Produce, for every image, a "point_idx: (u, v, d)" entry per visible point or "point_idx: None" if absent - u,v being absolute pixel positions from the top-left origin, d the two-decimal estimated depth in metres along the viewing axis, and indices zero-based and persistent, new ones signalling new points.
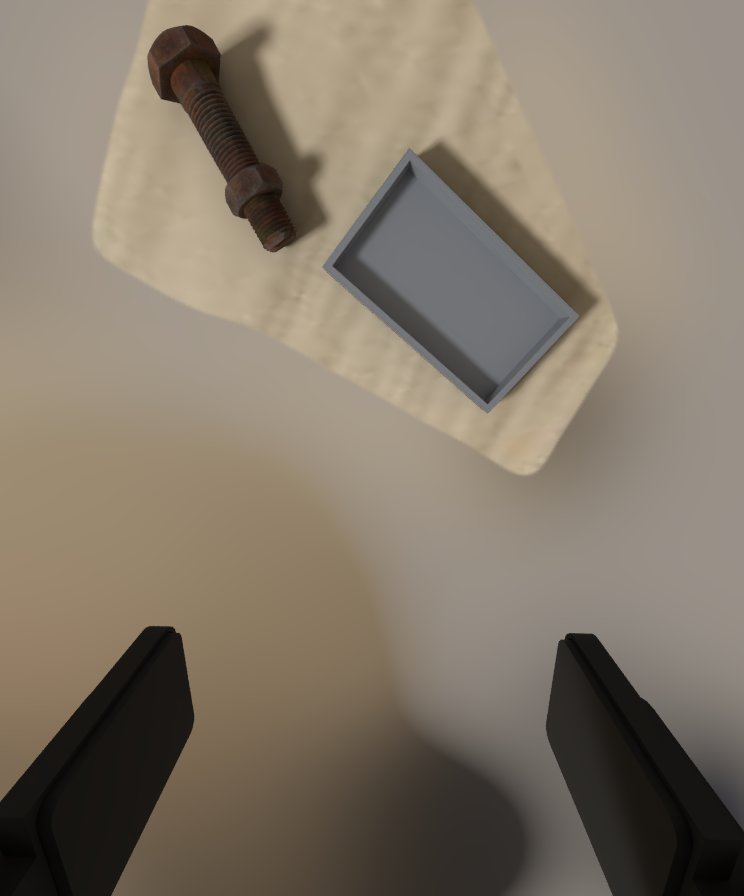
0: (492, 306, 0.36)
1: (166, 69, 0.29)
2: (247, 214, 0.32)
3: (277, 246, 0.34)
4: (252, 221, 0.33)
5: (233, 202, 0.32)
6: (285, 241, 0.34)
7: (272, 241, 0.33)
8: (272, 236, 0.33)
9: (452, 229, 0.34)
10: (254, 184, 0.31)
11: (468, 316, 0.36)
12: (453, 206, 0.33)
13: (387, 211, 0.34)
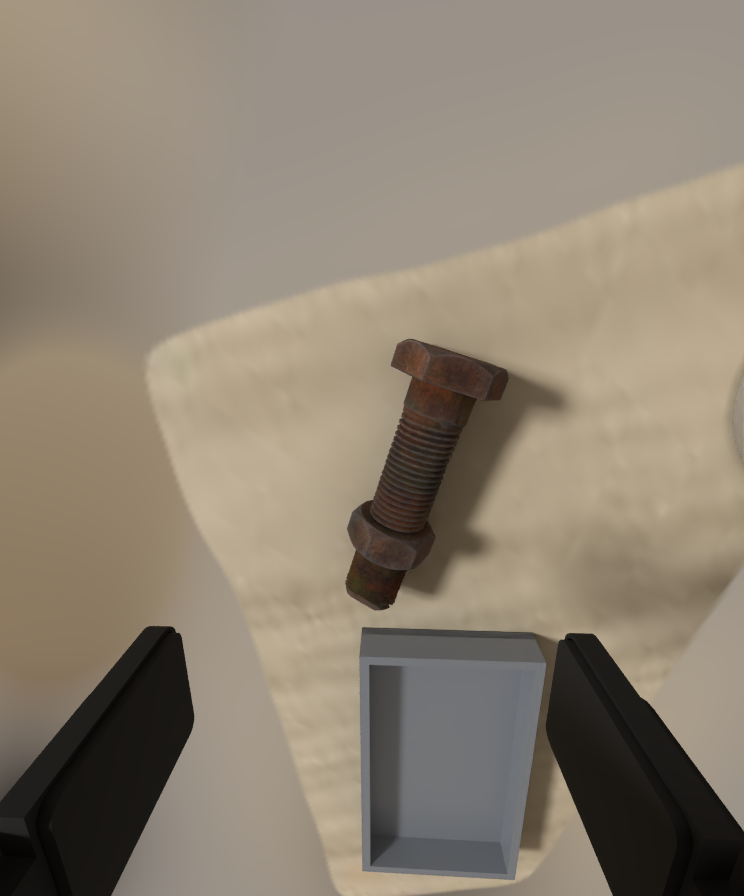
0: (462, 789, 0.29)
1: None
2: None
3: None
4: (359, 564, 0.22)
5: (358, 539, 0.21)
6: None
7: (360, 598, 0.22)
8: (365, 599, 0.22)
9: (502, 716, 0.27)
10: (398, 563, 0.20)
11: (436, 777, 0.29)
12: (524, 723, 0.25)
13: None
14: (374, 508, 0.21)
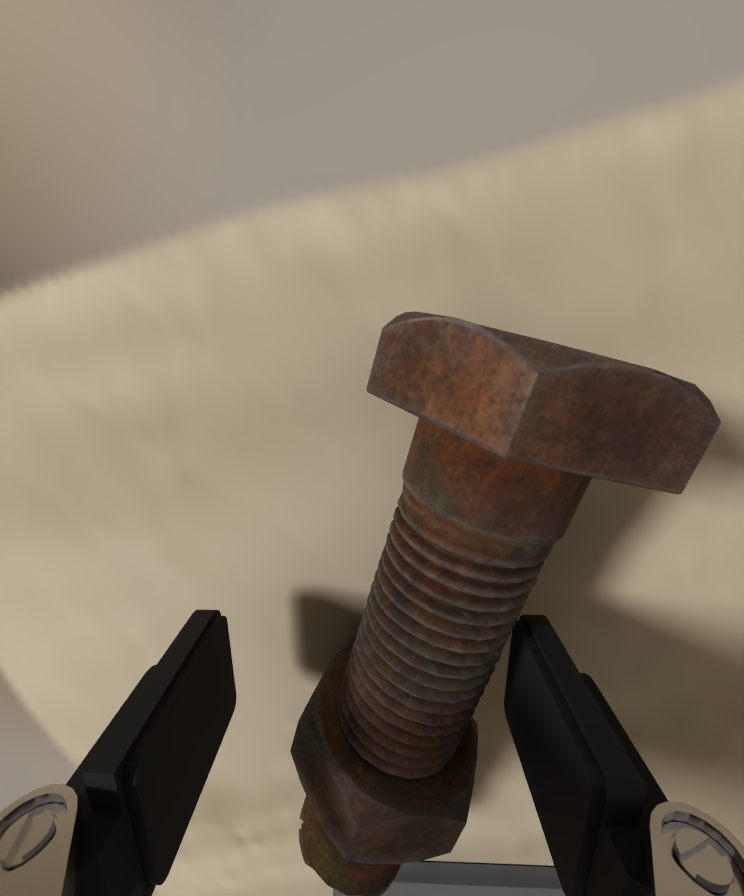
0: None
1: None
2: None
3: None
4: None
5: (321, 800, 0.09)
6: None
7: None
8: None
9: None
10: (424, 850, 0.09)
11: None
12: None
13: None
14: (351, 719, 0.09)
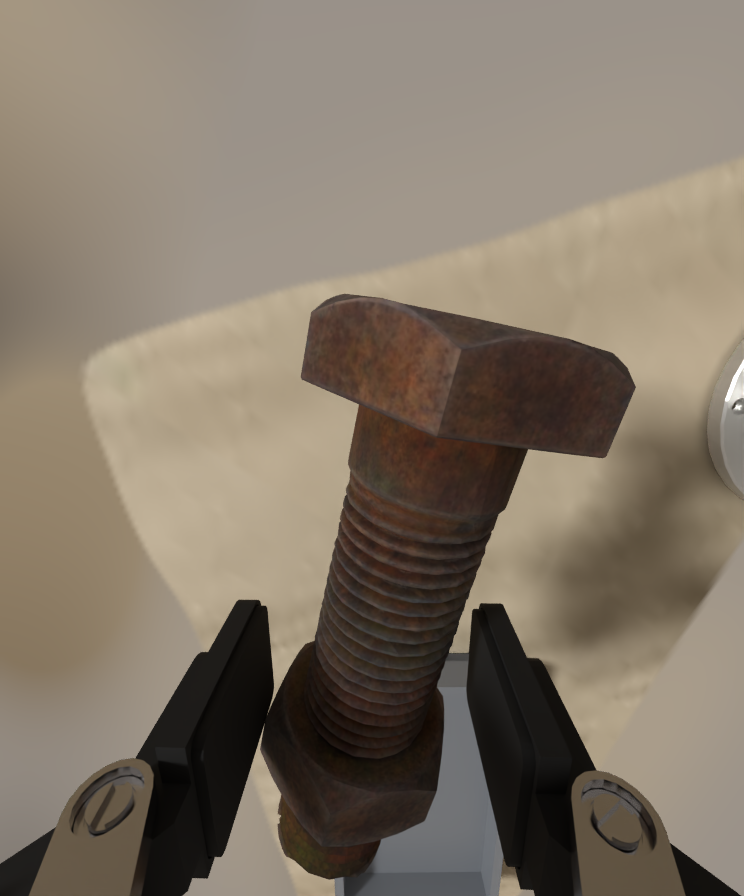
0: (441, 819, 0.28)
1: None
2: None
3: None
4: None
5: (294, 793, 0.09)
6: None
7: None
8: None
9: None
10: (399, 824, 0.09)
11: None
12: None
13: None
14: (317, 709, 0.09)
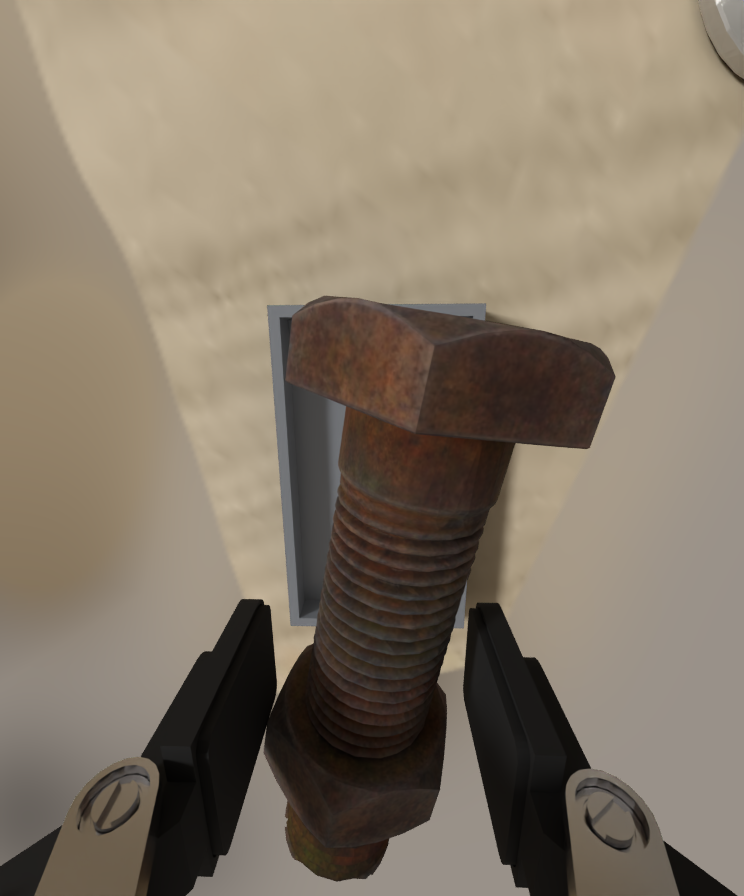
0: None
1: None
2: None
3: None
4: None
5: (297, 794, 0.09)
6: None
7: None
8: None
9: None
10: (403, 823, 0.09)
11: None
12: None
13: None
14: (318, 711, 0.09)
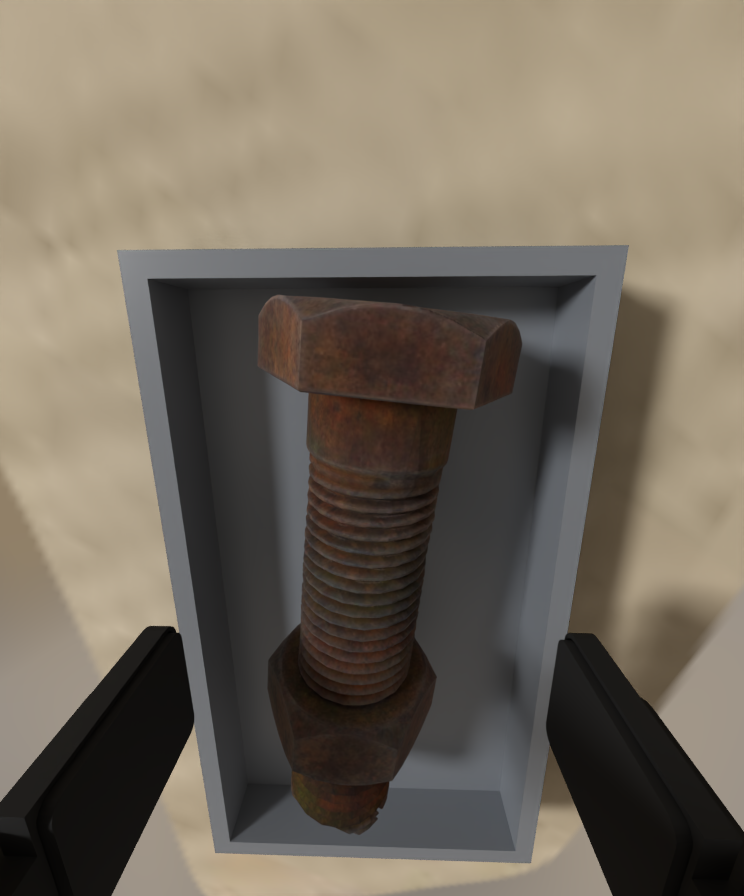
0: None
1: None
2: None
3: None
4: None
5: (280, 723, 0.10)
6: None
7: None
8: None
9: (504, 493, 0.12)
10: (365, 774, 0.10)
11: None
12: (557, 475, 0.10)
13: None
14: (302, 655, 0.10)
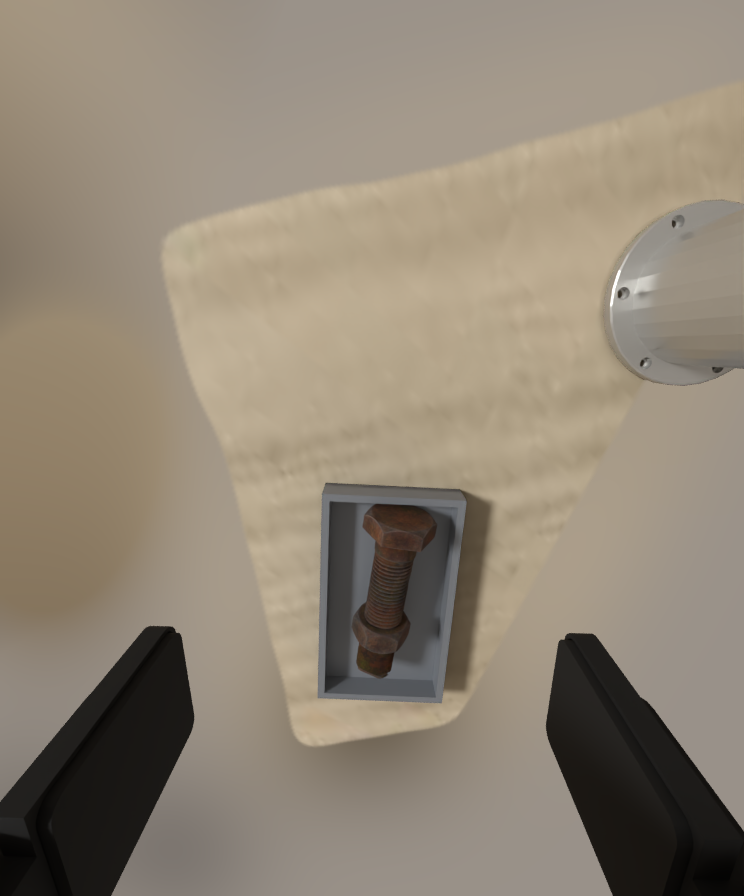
0: None
1: None
2: None
3: None
4: (363, 650, 0.33)
5: (359, 636, 0.32)
6: None
7: (367, 671, 0.33)
8: (370, 672, 0.33)
9: (435, 561, 0.34)
10: (387, 649, 0.31)
11: None
12: (450, 559, 0.32)
13: None
14: (366, 613, 0.32)
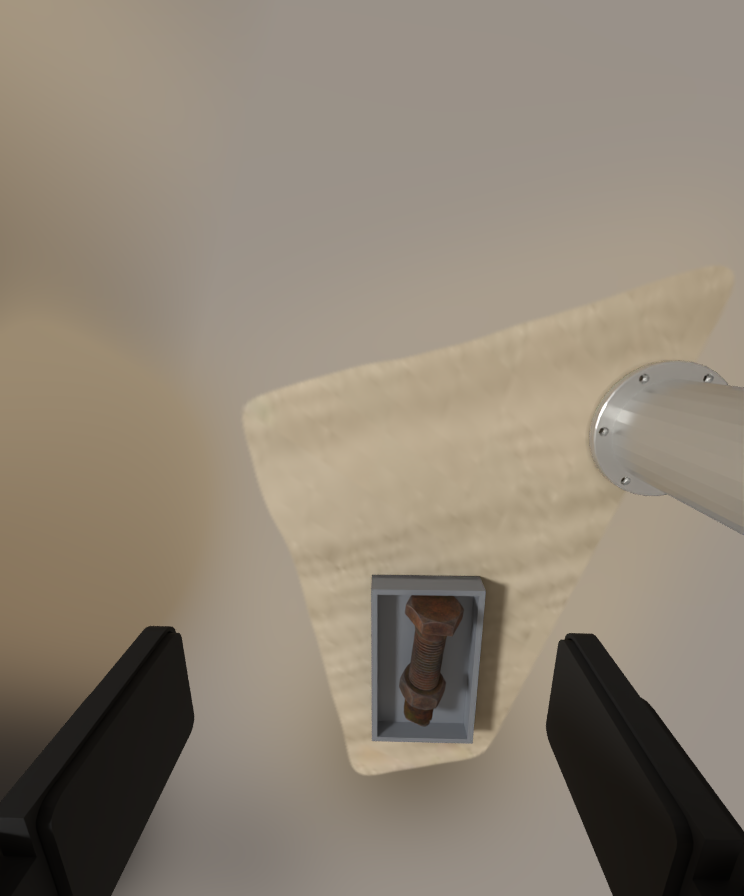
0: None
1: None
2: None
3: None
4: (409, 705, 0.41)
5: (406, 695, 0.40)
6: None
7: None
8: None
9: (462, 632, 0.42)
10: (429, 707, 0.39)
11: None
12: (474, 633, 0.40)
13: None
14: (411, 677, 0.40)
